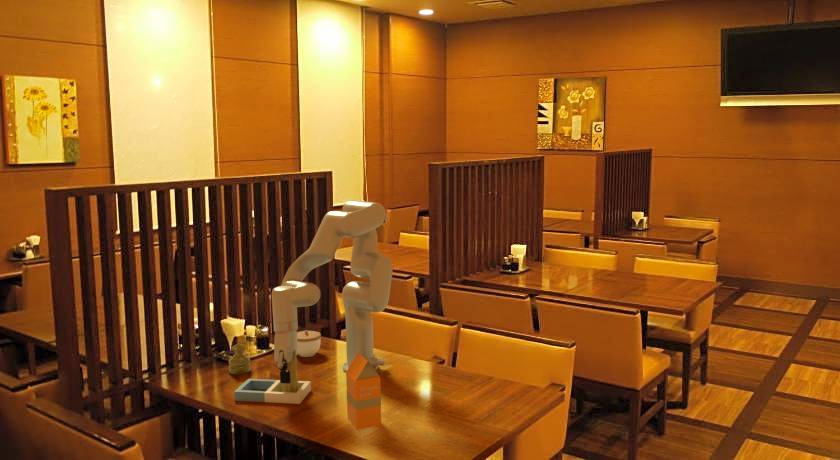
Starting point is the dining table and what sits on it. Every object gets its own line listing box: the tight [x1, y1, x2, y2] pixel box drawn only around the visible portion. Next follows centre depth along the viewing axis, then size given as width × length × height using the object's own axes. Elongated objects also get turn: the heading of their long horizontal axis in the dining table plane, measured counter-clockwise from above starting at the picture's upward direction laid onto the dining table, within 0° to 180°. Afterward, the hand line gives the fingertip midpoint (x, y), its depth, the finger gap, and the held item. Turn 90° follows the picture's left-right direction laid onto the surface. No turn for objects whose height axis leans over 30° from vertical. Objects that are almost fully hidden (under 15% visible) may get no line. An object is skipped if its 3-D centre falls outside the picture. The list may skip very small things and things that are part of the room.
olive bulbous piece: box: [228, 343, 251, 376], centre depth 249 cm, size 7×7×10 cm
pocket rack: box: [233, 378, 312, 405], centre depth 227 cm, size 22×12×3 cm, turn 81°
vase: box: [279, 350, 299, 393], centre depth 226 cm, size 6×6×14 cm
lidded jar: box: [297, 329, 322, 358], centre depth 267 cm, size 11×11×9 cm
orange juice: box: [345, 352, 382, 430], centre depth 205 cm, size 8×9×20 cm
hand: (288, 378), depth 226 cm, fingers closed on vase, 5 cm apart
